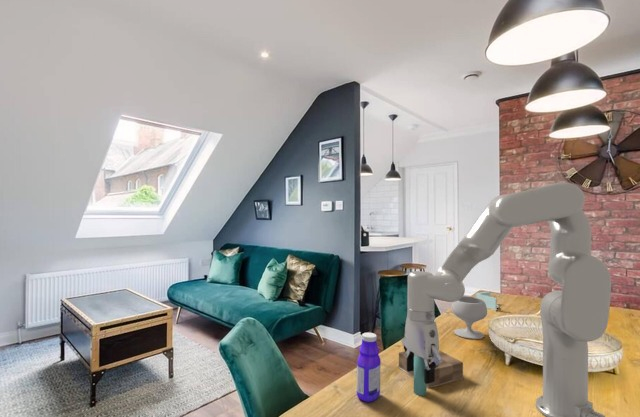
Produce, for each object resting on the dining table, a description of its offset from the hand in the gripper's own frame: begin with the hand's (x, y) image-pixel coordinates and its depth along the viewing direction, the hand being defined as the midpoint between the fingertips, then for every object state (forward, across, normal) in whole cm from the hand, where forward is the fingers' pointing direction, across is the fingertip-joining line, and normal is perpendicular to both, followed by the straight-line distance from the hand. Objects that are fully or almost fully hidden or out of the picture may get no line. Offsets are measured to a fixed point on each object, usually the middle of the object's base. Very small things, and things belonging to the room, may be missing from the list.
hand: (420, 375), depth 97 cm
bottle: (+5, +4, +15) cm, 16 cm away
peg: (+5, 0, 0) cm, 5 cm away
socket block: (+5, +8, -11) cm, 14 cm away
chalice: (+5, +28, -51) cm, 58 cm away
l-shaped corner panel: (+6, +54, -98) cm, 111 cm away
